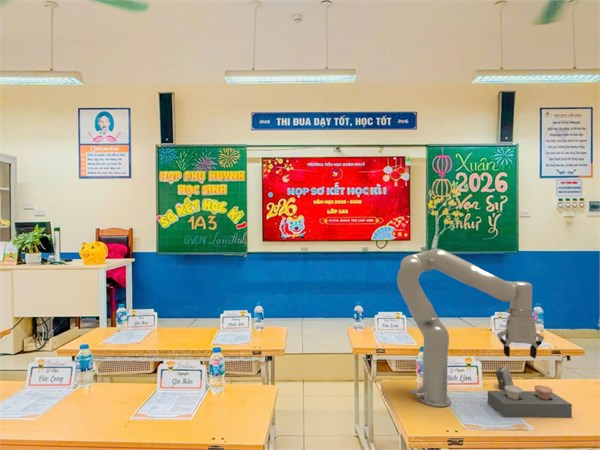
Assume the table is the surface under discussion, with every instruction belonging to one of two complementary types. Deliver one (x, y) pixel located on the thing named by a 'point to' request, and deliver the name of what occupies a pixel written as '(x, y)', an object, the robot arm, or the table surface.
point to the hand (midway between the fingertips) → (519, 356)
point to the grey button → (513, 392)
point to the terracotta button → (543, 392)
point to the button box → (529, 405)
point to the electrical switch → (504, 377)
